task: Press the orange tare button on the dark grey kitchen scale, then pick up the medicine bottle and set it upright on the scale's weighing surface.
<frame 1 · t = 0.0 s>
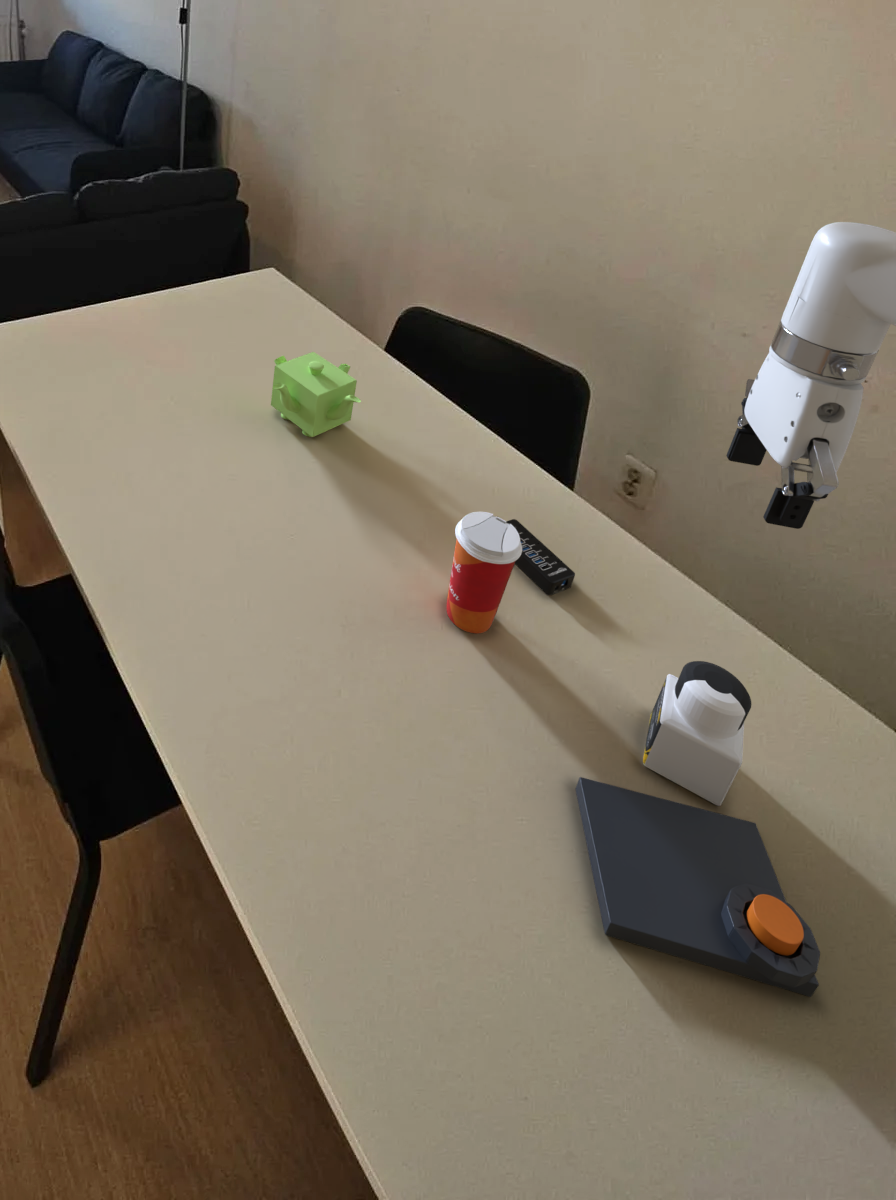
hand: (761, 491, 82), 28 cm above the table, tool pointing down, fingers open, 9 cm apart
tare button: (774, 924, 67), point 4 cm above the table, slide at 0.2 cm
kettle: (307, 421, 137), on the table
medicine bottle: (682, 760, 84), on the table
scale: (681, 882, 73), on the table
multiport hub: (528, 562, 109), on the table
paper cup: (468, 616, 100), on the table
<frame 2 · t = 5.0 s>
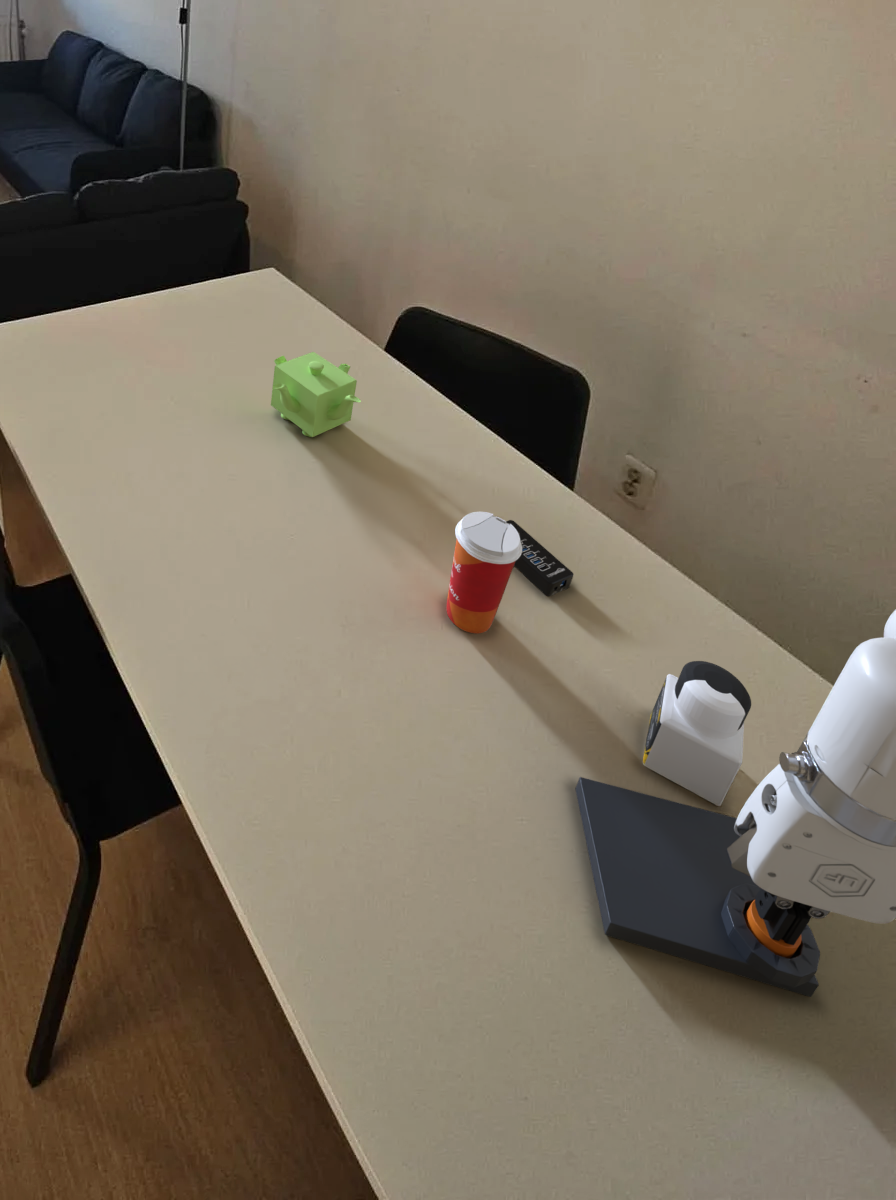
hand: (773, 921, 67), 4 cm above the table, tool pointing down, fingers closed
tare button: (772, 927, 67), point 3 cm above the table, slide at -0.4 cm, touching gripper
everything else where it was.
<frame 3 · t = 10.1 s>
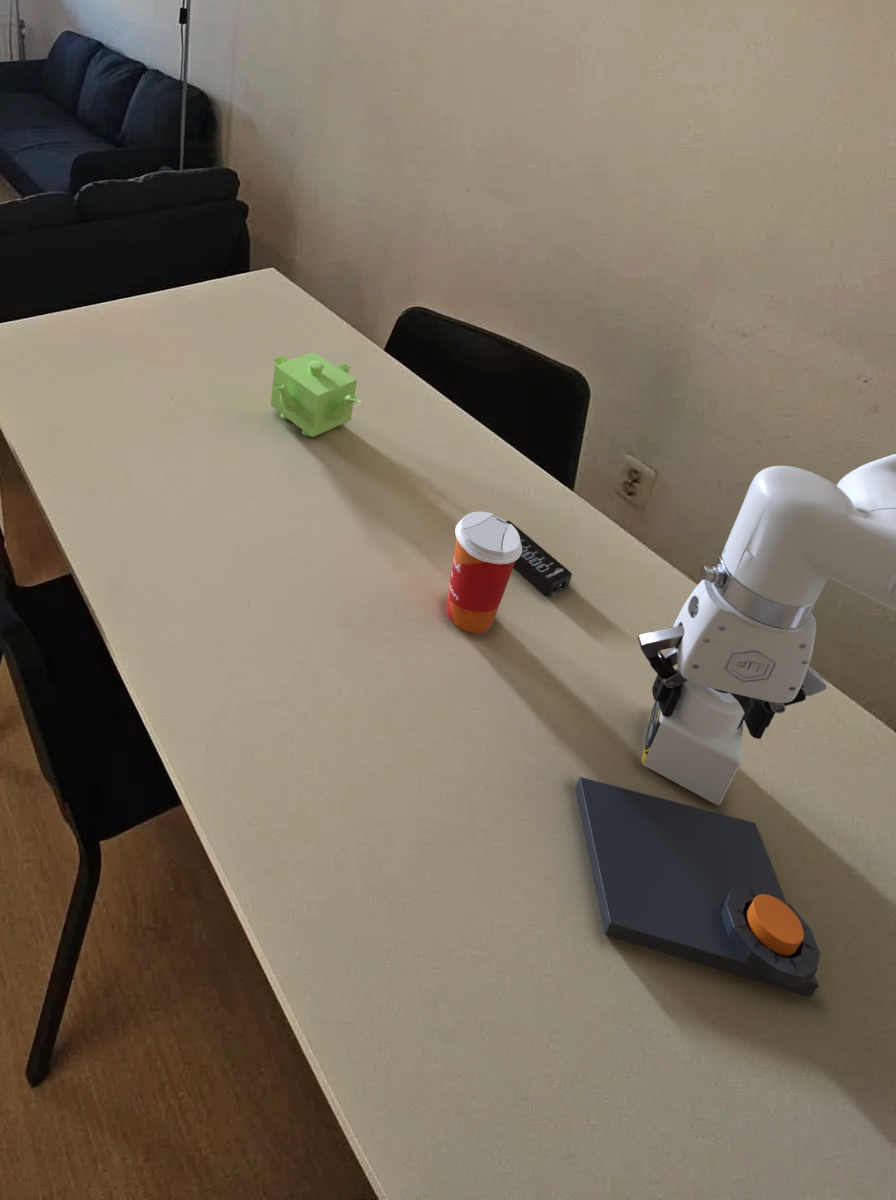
hand: (705, 714, 81), 7 cm above the table, tool pointing down, fingers closed on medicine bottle, 7 cm apart
tare button: (774, 924, 67), point 4 cm above the table, slide at 0.2 cm
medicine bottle: (681, 760, 84), on the table, touching gripper
everything else where it was.
when the fingers open (9 cm above the table, at t = 16.6 s): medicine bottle stays where it is, resting on scale.
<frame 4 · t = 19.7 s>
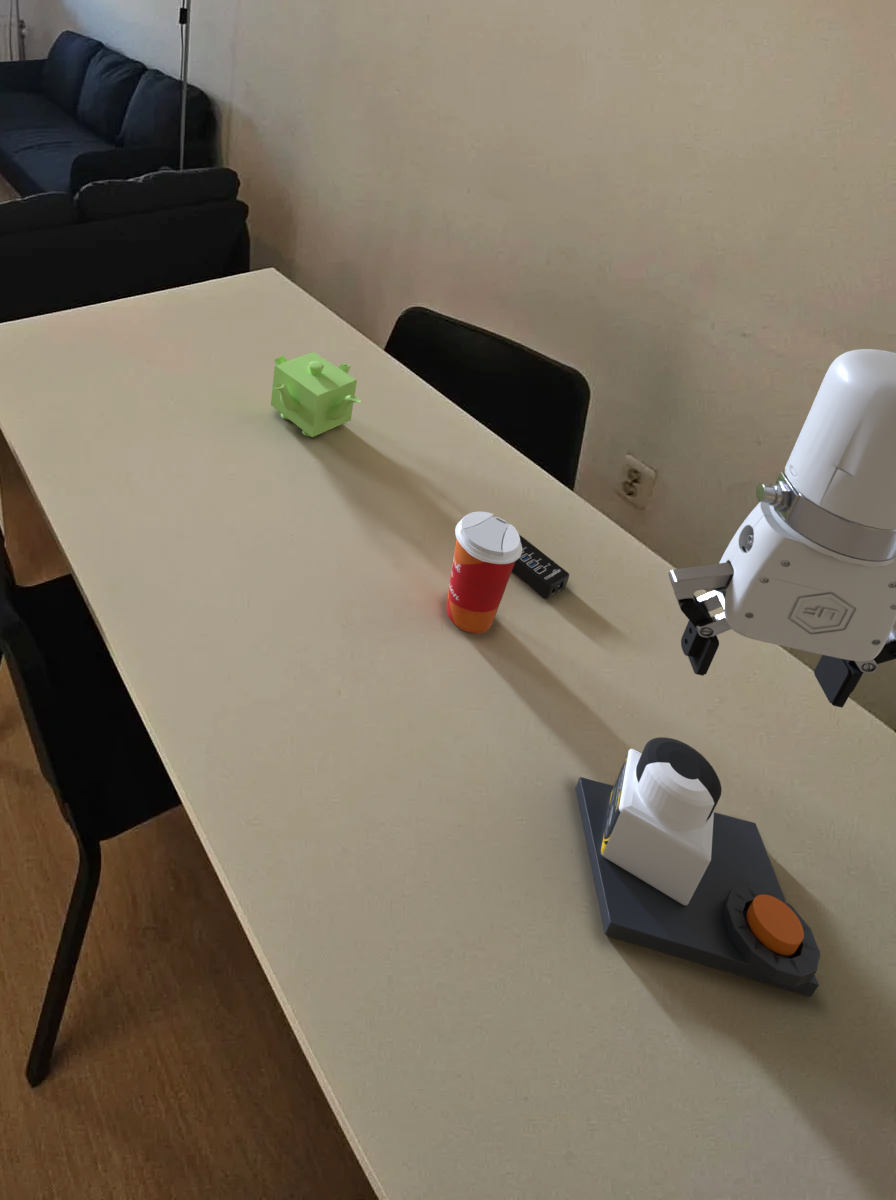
hand: (759, 675, 64), 26 cm above the table, tool pointing down, fingers open, 9 cm apart
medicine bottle: (646, 848, 74), point 2 cm above the table, touching scale
at the end: tare button pushed in 0.9 cm at the most during the clip, back to 0.2 cm at the end; tare button slide at 0.2 cm; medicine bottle touching scale; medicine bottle inside the target area on the scale (1.2 cm from its centre), point 1.7 cm above the scale's base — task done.
